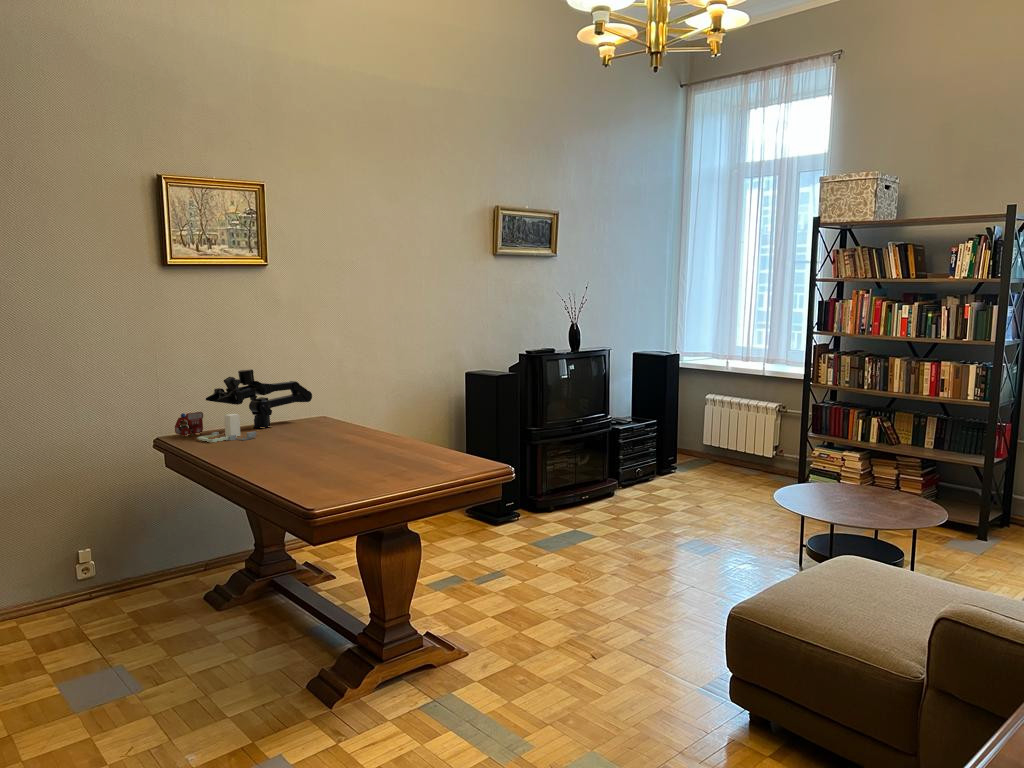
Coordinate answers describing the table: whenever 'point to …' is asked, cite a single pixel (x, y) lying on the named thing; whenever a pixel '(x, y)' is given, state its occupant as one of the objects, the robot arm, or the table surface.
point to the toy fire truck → (189, 423)
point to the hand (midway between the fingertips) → (211, 400)
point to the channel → (233, 437)
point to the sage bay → (205, 438)
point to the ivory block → (232, 424)
